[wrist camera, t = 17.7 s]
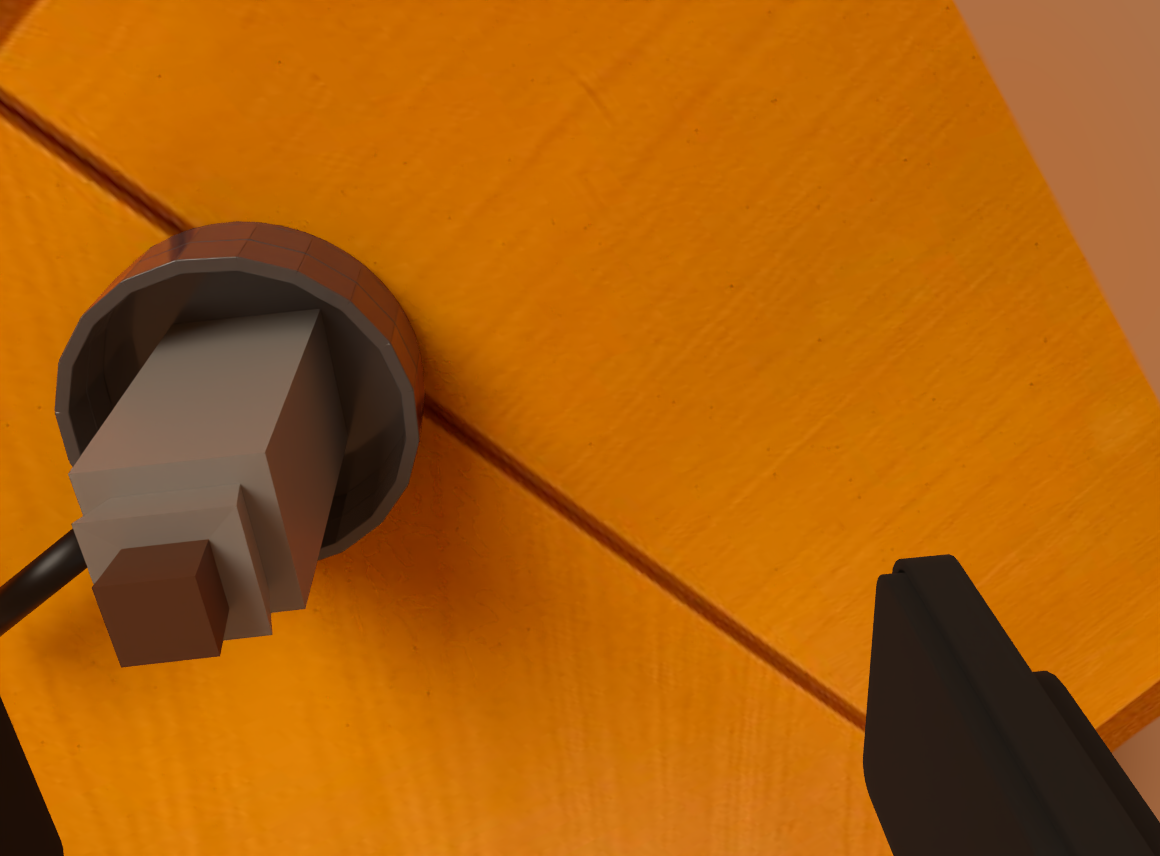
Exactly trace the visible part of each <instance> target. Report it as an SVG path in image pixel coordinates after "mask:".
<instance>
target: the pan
mask: <svg viewBox="0 0 1160 856" xmlns="http://www.w3.org/2000/svg"><path fill="white" fill-rule="evenodd" d="M312 309H321V314H322V318H323V323H324V328H325V332H326V337H327V342H328V346H329V351H330V356H331V360H332V365H333V370H334V374H335V379H336V384H337V388H338V393H339V398H340V402H341V407H342V412H343V416H344V421H345V426H346V430H347V435H348V441H347V445H346V448H345V452H344V456H343V460H342V464H341V468H340V472H339V476H338V480H337V484H336V488H335V492H334V496H333V500H332V504H331V508H330V512H329V516H328V520H327V524H326V528H325V532H324V536H323V540H322V544H321V548H320V552H319V556H318V560H321V559H324V558H327V557H330V556H333V555H336V554H338V553H341V552H343V551H345V550H346V549H347V548H349V547H350V546H351V545H353V544H354V543H356V542H357V541H358V540H360V539H361V538H362V537H364V536H365V535H366V534H368V533H369V532H370V531H372V530H373V529H375V528H376V527H377V526H379V525H380V524H381V523H382V522H383V521H384V519H385V518H386V516H387V515H388V514H389V512H390V511H391V509H392V508H393V506H394V505H395V503H396V502H397V500H398V499H399V498H400V496H401V495H402V493H403V492H404V490H405V489H406V487H407V486H408V484H409V480H410V476H411V472H412V468H413V464H414V460H415V456H416V452H417V448H418V444H419V440H420V432H421V424H422V416H423V408H424V400H425V390H424V372H423V365H422V359H421V353H420V349H419V346H418V343H417V340H416V336H415V333H414V331H413V329H412V327H411V325H410V323H409V320H408V318H407V316H406V314H405V313H404V311H403V310H402V308H401V306H400V305H399V303H398V302H397V300H396V299H395V297H394V296H393V295H392V294H391V292H390V291H389V290H388V289H387V288H386V286H385V285H384V284H383V283H382V281H380V280H379V279H378V278H377V277H376V276H375V275H374V274H373V273H372V272H371V271H370V270H369V269H368V268H367V267H366V266H364V265H363V264H362V263H360V262H359V261H358V260H356V259H355V258H353V257H352V256H351V255H349V254H348V253H347V252H345V251H343V250H341V249H339V248H338V247H336V246H334V245H332V244H331V243H329V242H327V241H325V240H322V239H320V238H318V237H315V236H313V235H310V234H308V233H305V232H302V231H298V230H295V229H291V228H288V227H284V226H279V225H273V224H267V223H260V222H228V223H217V224H211V225H207V226H202V227H198V228H193V229H190V230H188V231H185V232H182V233H180V234H177V235H174V236H172V237H170V238H168V239H166V240H164V241H163V242H161V243H159V244H156V245H154V246H153V247H151V248H150V249H149V250H147V251H146V252H145V253H144V254H143V255H141V256H140V257H139V258H137V259H136V260H135V261H134V262H133V263H132V264H131V265H130V266H129V267H128V268H127V269H126V270H125V271H123V272H122V273H121V274H120V275H119V276H118V277H117V278H116V279H115V280H114V281H113V282H112V283H111V284H110V285H109V286H108V287H107V288H106V290H105V291H104V292H103V293H102V294H101V295H100V296H99V297H98V298H97V300H96V301H95V302H94V303H93V304H92V305H91V306H90V307H89V308H88V309H87V311H86V312H85V313H84V314H83V315H82V316H81V318H80V320H79V322H78V324H77V326H76V328H75V330H74V332H73V334H72V336H71V338H70V340H69V342H68V344H67V345H66V347H65V349H64V351H63V353H62V355H61V357H60V359H59V363H58V374H57V387H56V399H55V415H56V419H57V422H58V425H59V429H60V432H61V436H62V439H63V443H64V446H65V449H66V453H67V456H68V460H69V461H70V464H71V465H72V467H73V466H74V465H75V464H76V462H77V461H78V459H79V458H80V456H81V455H82V453H83V452H84V451H85V449H86V448H87V446H88V445H89V443H90V442H91V440H92V439H93V438H94V436H95V435H96V433H97V432H98V430H99V429H100V427H101V426H102V425H103V423H104V422H105V420H106V419H107V417H108V416H109V415H110V413H111V412H112V410H113V409H114V407H115V406H116V404H117V403H118V402H119V400H120V399H121V397H122V396H123V394H124V393H125V391H126V390H127V389H128V387H129V386H130V384H131V383H132V381H133V380H134V378H135V377H136V376H137V374H138V373H139V371H140V370H141V368H142V367H143V366H144V364H145V363H146V361H147V360H148V358H149V357H150V355H151V354H152V353H153V351H154V350H155V348H156V347H157V345H158V344H159V342H160V341H161V340H162V338H163V337H164V335H165V334H166V332H167V331H168V329H169V328H170V327H171V325H172V324H181V323H191V322H200V321H209V320H219V319H228V318H237V317H247V316H256V315H265V314H275V313H284V312H294V311H303V310H312ZM318 560H317V561H318Z"/></svg>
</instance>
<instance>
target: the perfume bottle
mask: <svg viewBox="0 0 1160 856" xmlns="http://www.w3.org/2000/svg"><path fill="white" fill-rule="evenodd" d="M347 441H348V435H347V430H346V426H345V421H344V416H343V412H342V407H341V402H340V398H339V393H338V388H337V384H336V379H335V374H334V370H333V365H332V360H331V356H330V351H329V346H328V342H327V337H326V332H325V328H324V323H323V318H322V314H321V309H312V310H303V311H294V312H284V313H275V314H265V315H256V316H247V317H237V318H228V319H219V320H209V321H200V322H191V323H181V324H172V325H171V327H170V328H169V329H168V331H167V332H166V334H165V335H164V337H163V338H162V340H161V341H160V342H159V344H158V345H157V347H156V348H155V350H154V351H153V353H152V354H151V355H150V357H149V358H148V360H147V361H146V363H145V364H144V366H143V367H142V368H141V370H140V371H139V373H138V374H137V376H136V377H135V378H134V380H133V381H132V383H131V384H130V386H129V387H128V389H127V390H126V391H125V393H124V394H123V396H122V397H121V399H120V400H119V402H118V403H117V404H116V406H115V407H114V409H113V410H112V412H111V413H110V415H109V416H108V417H107V419H106V420H105V422H104V423H103V425H102V426H101V427H100V429H99V430H98V432H97V433H96V435H95V436H94V438H93V439H92V440H91V442H90V443H89V445H88V446H87V448H86V449H85V451H84V452H83V453H82V455H81V456H80V458H79V459H78V461H77V462H76V464H75V465H74V466H73V468H72V469H71V471H70V472H69V474H68V475H69V477H70V480H71V483H72V486H73V488H74V491H75V494H76V497H77V500H78V502H79V505H80V508H81V511H82V513H83V517H81V518H80V519H78V520H77V521H75V522H73V523H72V527H73V530H74V532H75V535H76V538H77V540H78V543H79V546H80V549H81V551H82V554H83V557H84V559H85V562H86V565H87V568H88V570H89V573H90V576H91V578H92V581H93V584H94V585H93V587H92V590H93V593H94V595H95V598H96V601H97V603H98V606H99V609H100V611H101V614H102V617H103V620H104V622H105V625H106V628H107V630H108V633H109V636H110V638H111V641H112V644H113V647H114V649H115V652H116V655H117V657H118V660H119V663H120V665H121V667H129V666H138V665H147V664H155V663H164V662H173V661H182V660H191V659H199V658H208V657H217V656H220V654H221V648H222V643H223V640H231V639H240V638H249V637H258V636H266V635H272V624H271V613H272V612H281V611H290V610H299V609H305V608H306V604H307V600H308V596H309V592H310V588H311V584H312V580H313V576H314V572H315V568H316V564H317V560H318V556H319V552H320V548H321V544H322V540H323V536H324V532H325V528H326V524H327V520H328V516H329V512H330V508H331V504H332V500H333V496H334V492H335V488H336V484H337V480H338V476H339V472H340V468H341V464H342V460H343V456H344V452H345V448H346V445H347Z"/></svg>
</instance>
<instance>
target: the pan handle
mask: <svg viewBox="0 0 1160 856" xmlns="http://www.w3.org/2000/svg"><path fill="white" fill-rule="evenodd" d="M86 568H87V565H86V562H85V559H84V557H83V554H82V551H81V549H80V546H79V543H78V540H77V538H76V535H75V532H74V530H73V529H72V530H70V531H69V532H68V533H67V534H65V535H64V536H63V537H62V538H60V539H59V540H58V541H57V542H56V543H54V544H53V545H52V546H51V547H49V548H48V549H47V550H46V551H44V552H43V553H42V554H41V555H39V556H38V557H37V558H36V559H35V560H33V561H32V562H31V563H30V564H28V565H27V566H26V567H25V568H23V569H22V570H21V571H20V572H18V573H17V574H16V575H15V576H13V577H12V578H11V579H10V580H9V581H7V582H6V583H5V584H4V585H2V586H1V587H0V636H2V635H3V634H4V633H5V632H7V631H8V630H9V629H10V628H12V627H13V626H14V625H15V624H17V623H18V622H19V621H20V620H22V619H23V618H24V617H26V616H27V615H28V614H29V613H31V612H32V611H33V610H34V609H36V608H37V607H38V606H39V605H41V604H42V603H43V602H44V601H46V600H47V599H48V598H50V597H51V596H52V595H53V594H55V593H56V592H57V591H58V590H60V589H61V588H62V587H63V586H65V585H66V584H67V583H68V582H70V581H71V580H72V579H73V578H75V577H76V576H77V575H79V574H80V573H81V572H82V571H84V570H85V569H86Z"/></svg>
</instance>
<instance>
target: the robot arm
mask: <svg viewBox="0 0 1160 856" xmlns="http://www.w3.org/2000/svg"><path fill="white" fill-rule="evenodd" d="M863 769H864V777H865V782H866V786H867V790H868V793H869V796H870V799H871V801H872V803H873V806H874V808H875V811H876V813H877V816H878V818H879V821H880V823H881V826H882V828H883V831H884V833H885V836H886V838H887V841H888V843H889V845H890V848H891V850H892V853H893V855H894V856H1160V823H1159V821H1158V819H1157V818H1156V816H1155V815H1154V814H1153V812H1152V811H1151V809H1150V808H1149V806H1148V805H1147V804H1146V802H1145V801H1144V800H1143V798H1142V796H1141V795H1140V794H1139V792H1138V791H1137V789H1136V788H1135V786H1134V785H1133V784H1132V782H1131V781H1130V779H1129V778H1128V776H1127V775H1126V773H1125V772H1124V771H1123V769H1122V768H1121V766H1120V765H1119V763H1118V762H1117V761H1116V759H1115V758H1114V756H1113V755H1112V753H1111V752H1110V750H1109V749H1108V748H1107V746H1106V745H1105V743H1104V742H1103V740H1102V739H1101V737H1100V736H1099V735H1098V733H1097V732H1096V730H1095V729H1094V727H1093V726H1092V725H1091V723H1090V722H1089V720H1088V719H1087V717H1086V716H1085V714H1084V713H1083V712H1082V710H1081V709H1080V707H1079V706H1078V704H1077V703H1076V702H1075V700H1074V699H1073V697H1072V696H1071V694H1070V693H1069V692H1068V690H1067V689H1066V687H1065V686H1064V685H1063V684H1062V683H1061V681H1060V680H1059V679H1058V678H1057V677H1056V676H1055V675H1053V674H1051V673H1049V672H1048V671H1038V672H1032V671H1031V669H1030V668H1029V666H1028V665H1027V663H1026V662H1025V660H1024V659H1023V657H1022V656H1021V654H1020V653H1019V651H1018V650H1017V648H1016V647H1015V645H1014V644H1013V642H1012V641H1011V639H1010V638H1009V636H1008V635H1007V633H1006V632H1005V630H1004V629H1003V627H1002V626H1001V624H1000V623H999V621H998V620H997V618H996V617H995V616H994V614H993V613H992V611H991V610H990V608H989V607H988V605H987V604H986V602H985V601H984V599H983V598H982V596H981V595H980V593H979V592H978V590H977V589H976V587H975V586H974V584H973V583H972V581H971V580H970V578H969V577H968V575H967V574H966V572H965V571H964V569H963V568H962V566H961V565H960V563H959V562H958V560H957V559H956V558H955V557H954V556H952V555H949V554H947V555H937V556H927V557H916V558H906V559H899V560H897V561H896V562H895V564H894V567H893V572H892V574H883V575H880V576H879V578H878V580H877V586H876V597H875V610H874V623H873V636H872V649H871V662H870V675H869V688H868V701H867V714H866V727H865V739H864V752H863ZM0 856H64V853H63V846H62V843H61V840H60V837H59V835H58V833H57V830H56V828H55V825H54V823H53V821H52V818H51V816H50V814H49V811H48V809H47V806H46V804H45V802H44V799H43V797H42V795H41V792H40V790H39V787H38V785H37V783H36V780H35V778H34V775H33V773H32V771H31V768H30V766H29V764H28V761H27V759H26V756H25V754H24V752H23V749H22V747H21V745H20V742H19V740H18V737H17V735H16V733H15V730H14V728H13V725H12V723H11V721H10V718H9V716H8V714H7V711H6V709H5V706H4V704H3V702H2V699H1V697H0Z"/></svg>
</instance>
